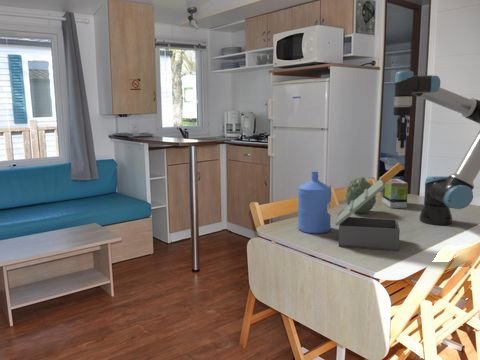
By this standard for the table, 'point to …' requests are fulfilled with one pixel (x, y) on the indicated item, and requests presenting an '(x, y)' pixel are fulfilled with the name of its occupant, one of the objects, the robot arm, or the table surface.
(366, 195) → the lid
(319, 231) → the water jug
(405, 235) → the table surface
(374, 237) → the parts tub
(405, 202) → the tea box
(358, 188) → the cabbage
